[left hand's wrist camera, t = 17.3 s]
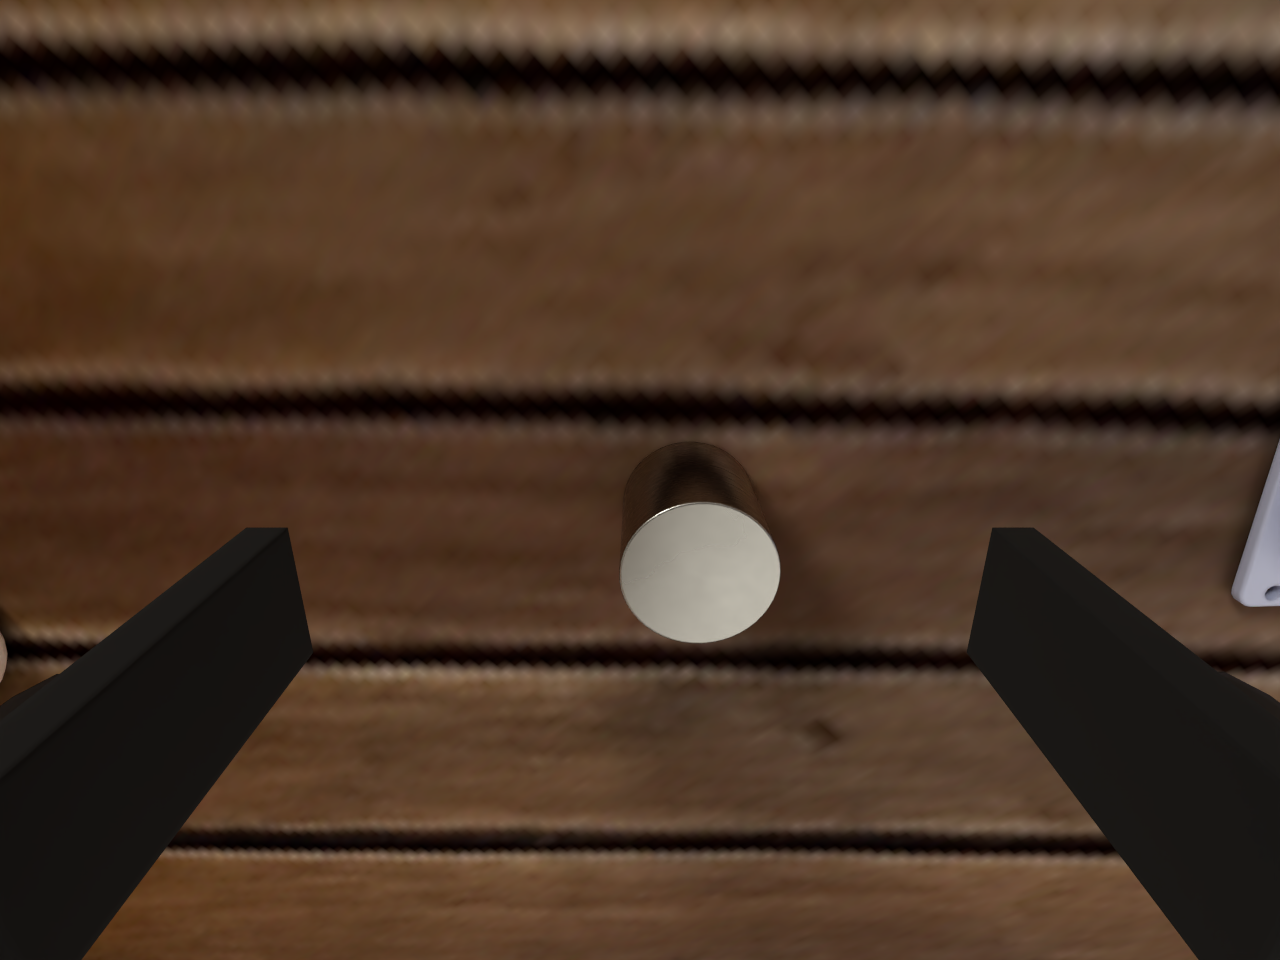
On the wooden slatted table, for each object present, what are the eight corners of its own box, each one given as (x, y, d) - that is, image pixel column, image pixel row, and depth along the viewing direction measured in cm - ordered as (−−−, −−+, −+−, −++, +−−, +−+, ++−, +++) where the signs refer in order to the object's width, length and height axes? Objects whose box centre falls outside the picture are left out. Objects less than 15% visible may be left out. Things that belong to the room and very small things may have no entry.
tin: (733, 424, 20) (758, 481, 15) (766, 539, 21) (797, 620, 17) (605, 463, 20) (596, 529, 16) (646, 574, 21) (647, 661, 17)
